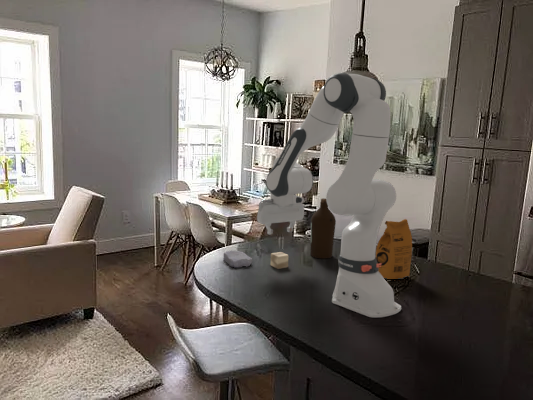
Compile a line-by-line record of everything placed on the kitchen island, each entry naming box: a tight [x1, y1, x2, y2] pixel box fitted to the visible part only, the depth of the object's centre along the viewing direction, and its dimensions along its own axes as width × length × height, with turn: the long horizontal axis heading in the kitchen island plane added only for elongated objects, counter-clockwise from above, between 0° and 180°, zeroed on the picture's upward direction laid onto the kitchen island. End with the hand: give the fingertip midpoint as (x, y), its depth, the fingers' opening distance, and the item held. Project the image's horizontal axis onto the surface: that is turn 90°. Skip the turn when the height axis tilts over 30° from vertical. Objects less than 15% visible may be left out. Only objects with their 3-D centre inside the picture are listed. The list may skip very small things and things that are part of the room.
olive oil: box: [309, 198, 337, 260], centre depth 188 cm, size 11×11×25 cm
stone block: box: [223, 249, 253, 269], centre depth 176 cm, size 12×5×10 cm
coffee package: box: [375, 218, 413, 279], centre depth 164 cm, size 10×12×22 cm
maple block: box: [270, 251, 289, 270], centre depth 173 cm, size 5×5×5 cm
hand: (279, 232), depth 172 cm, fingers open, 8 cm apart
